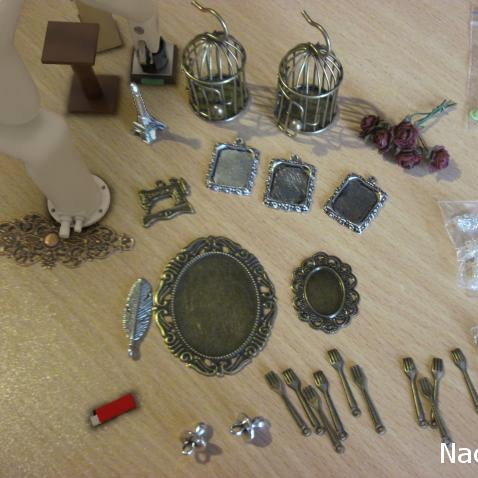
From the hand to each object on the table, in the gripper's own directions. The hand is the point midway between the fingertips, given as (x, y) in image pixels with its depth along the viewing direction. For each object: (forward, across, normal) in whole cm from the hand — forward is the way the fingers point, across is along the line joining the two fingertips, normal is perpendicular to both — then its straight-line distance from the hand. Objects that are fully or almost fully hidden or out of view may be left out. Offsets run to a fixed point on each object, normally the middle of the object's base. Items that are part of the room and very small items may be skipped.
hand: (151, 54), depth 129 cm
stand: (+4, -9, +13) cm, 16 cm away
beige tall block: (+4, +8, +13) cm, 16 cm away
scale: (+4, 0, 0) cm, 4 cm away
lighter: (+5, -79, +2) cm, 79 cm away
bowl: (+1, 0, 0) cm, 2 cm away
